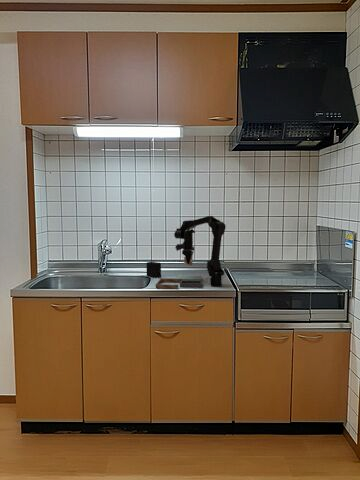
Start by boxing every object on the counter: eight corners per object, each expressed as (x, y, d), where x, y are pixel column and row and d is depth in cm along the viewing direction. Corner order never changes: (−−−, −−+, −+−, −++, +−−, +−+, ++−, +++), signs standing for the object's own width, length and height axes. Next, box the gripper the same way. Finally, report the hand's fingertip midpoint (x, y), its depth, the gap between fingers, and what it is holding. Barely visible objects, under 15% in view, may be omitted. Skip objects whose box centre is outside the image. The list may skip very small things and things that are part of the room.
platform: (201, 278, 273) (201, 275, 272) (199, 282, 261) (199, 279, 261) (177, 277, 275) (177, 274, 275) (175, 281, 263) (175, 278, 263)
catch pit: (202, 284, 254) (202, 280, 254) (201, 287, 246) (201, 283, 245) (181, 284, 256) (181, 280, 255) (179, 287, 247) (179, 283, 247)
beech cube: (192, 264, 269) (192, 256, 268) (191, 265, 264) (191, 257, 263) (185, 263, 269) (185, 256, 269) (184, 265, 264) (184, 257, 264)
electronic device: (156, 278, 274) (156, 263, 273) (146, 276, 281) (146, 262, 279) (161, 277, 277) (161, 262, 276) (150, 275, 284) (150, 261, 283)
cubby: (181, 282, 260) (181, 278, 260) (177, 289, 243) (177, 285, 243) (160, 282, 262) (160, 278, 262) (155, 288, 245) (155, 284, 244)
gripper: (178, 237, 275) (178, 260, 277) (174, 241, 257) (174, 265, 258) (194, 238, 273) (194, 260, 275) (191, 241, 255) (191, 265, 257)
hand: (188, 263), depth 266 cm, fingers closed on beech cube, 5 cm apart
